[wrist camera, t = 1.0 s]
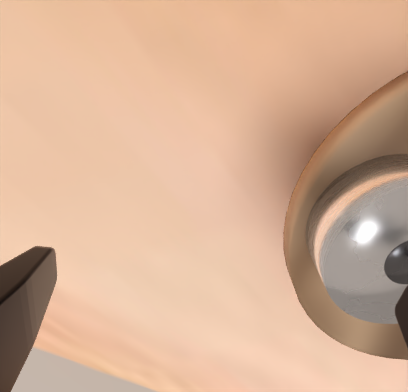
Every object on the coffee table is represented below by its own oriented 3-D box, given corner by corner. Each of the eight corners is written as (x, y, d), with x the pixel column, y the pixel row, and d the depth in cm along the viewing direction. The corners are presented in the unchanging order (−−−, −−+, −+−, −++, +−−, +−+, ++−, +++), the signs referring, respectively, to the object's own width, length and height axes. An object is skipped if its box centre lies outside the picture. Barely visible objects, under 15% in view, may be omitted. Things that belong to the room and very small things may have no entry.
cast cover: (494, 170, 16) (553, 201, 13) (413, 291, 20) (446, 334, 17) (340, 139, 15) (370, 164, 13) (285, 270, 19) (299, 312, 16)
